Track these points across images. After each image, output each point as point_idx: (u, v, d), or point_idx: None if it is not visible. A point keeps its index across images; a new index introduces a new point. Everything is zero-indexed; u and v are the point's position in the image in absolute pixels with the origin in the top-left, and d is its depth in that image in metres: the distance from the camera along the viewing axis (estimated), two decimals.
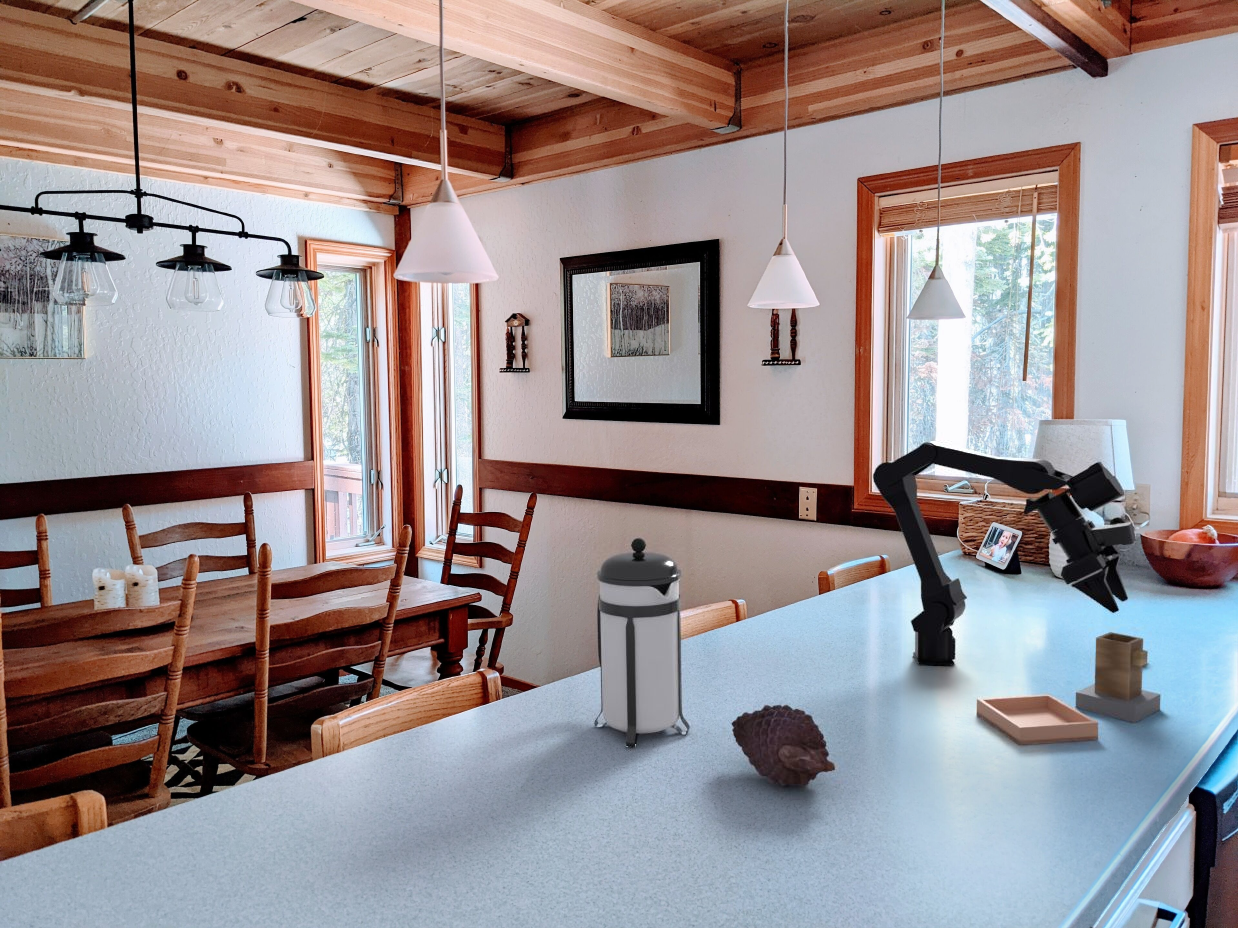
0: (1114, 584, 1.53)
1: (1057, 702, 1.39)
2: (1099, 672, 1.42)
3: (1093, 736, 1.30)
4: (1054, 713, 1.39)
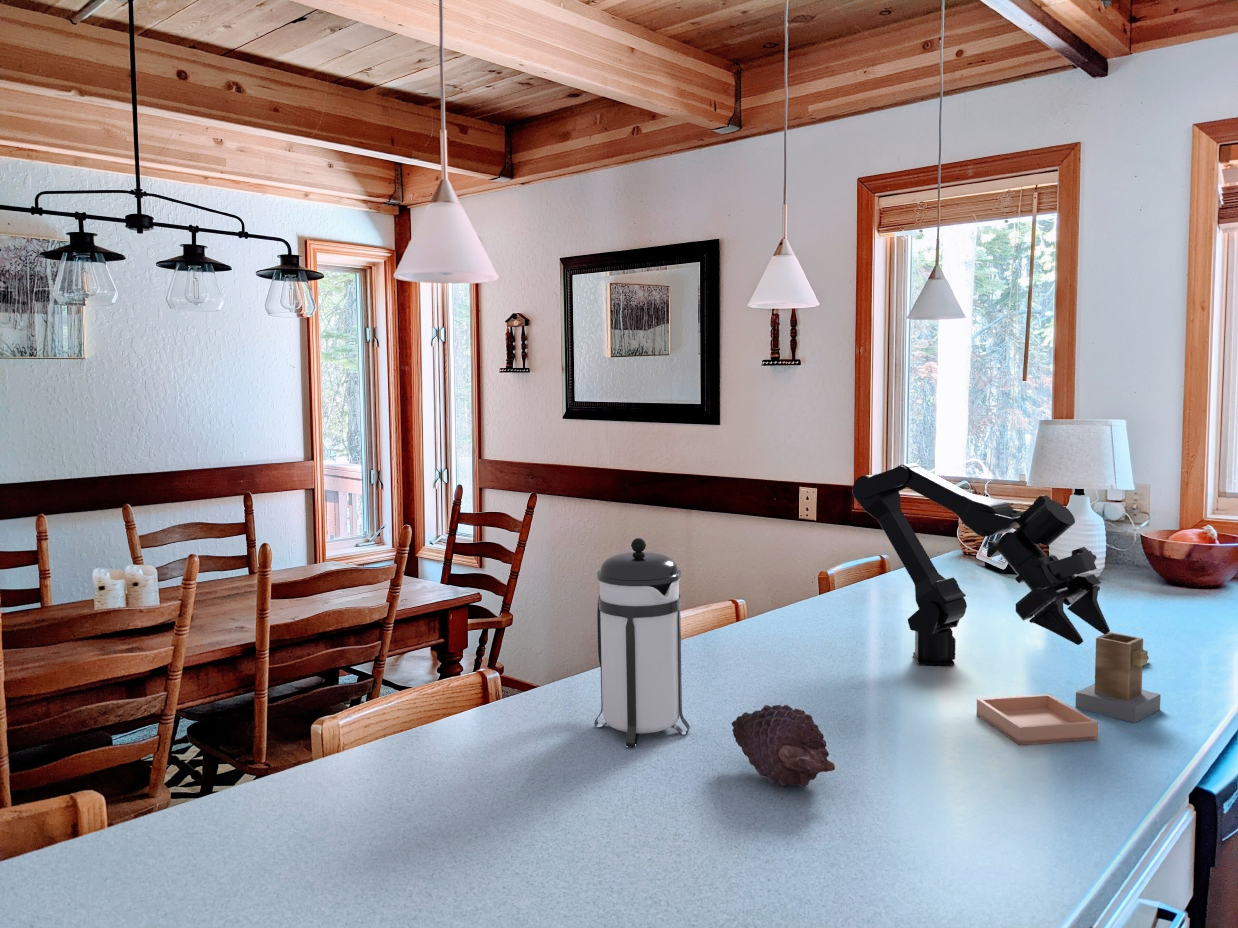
0: (1094, 617, 1.49)
1: (1057, 702, 1.39)
2: (1099, 672, 1.42)
3: (1093, 736, 1.30)
4: (1054, 713, 1.39)
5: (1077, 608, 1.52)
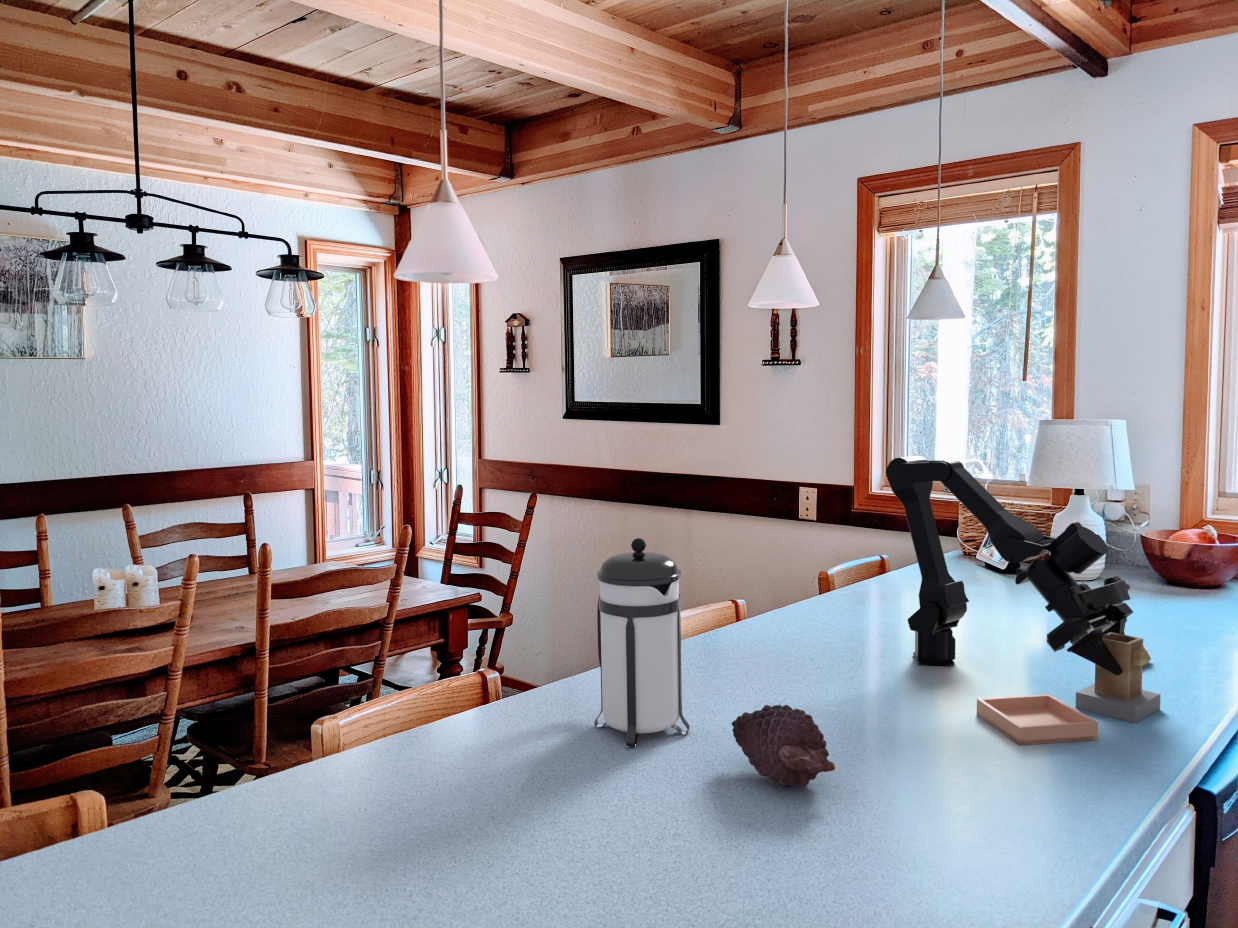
0: None
1: (1057, 702, 1.39)
2: (1099, 672, 1.42)
3: (1093, 736, 1.30)
4: (1054, 713, 1.39)
5: None
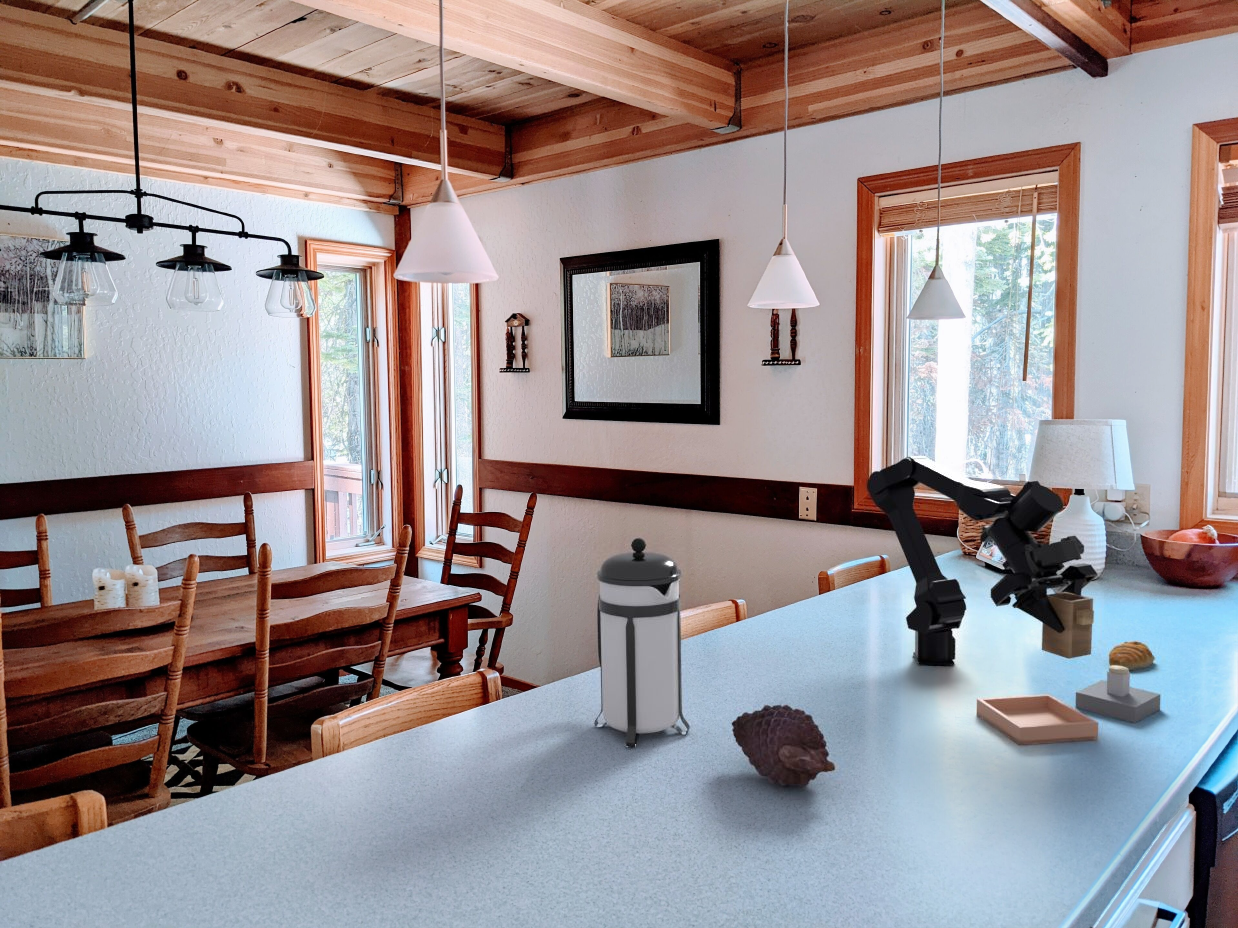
0: None
1: (1057, 702, 1.39)
2: (1045, 630, 1.42)
3: (1093, 736, 1.30)
4: (1054, 713, 1.39)
5: None
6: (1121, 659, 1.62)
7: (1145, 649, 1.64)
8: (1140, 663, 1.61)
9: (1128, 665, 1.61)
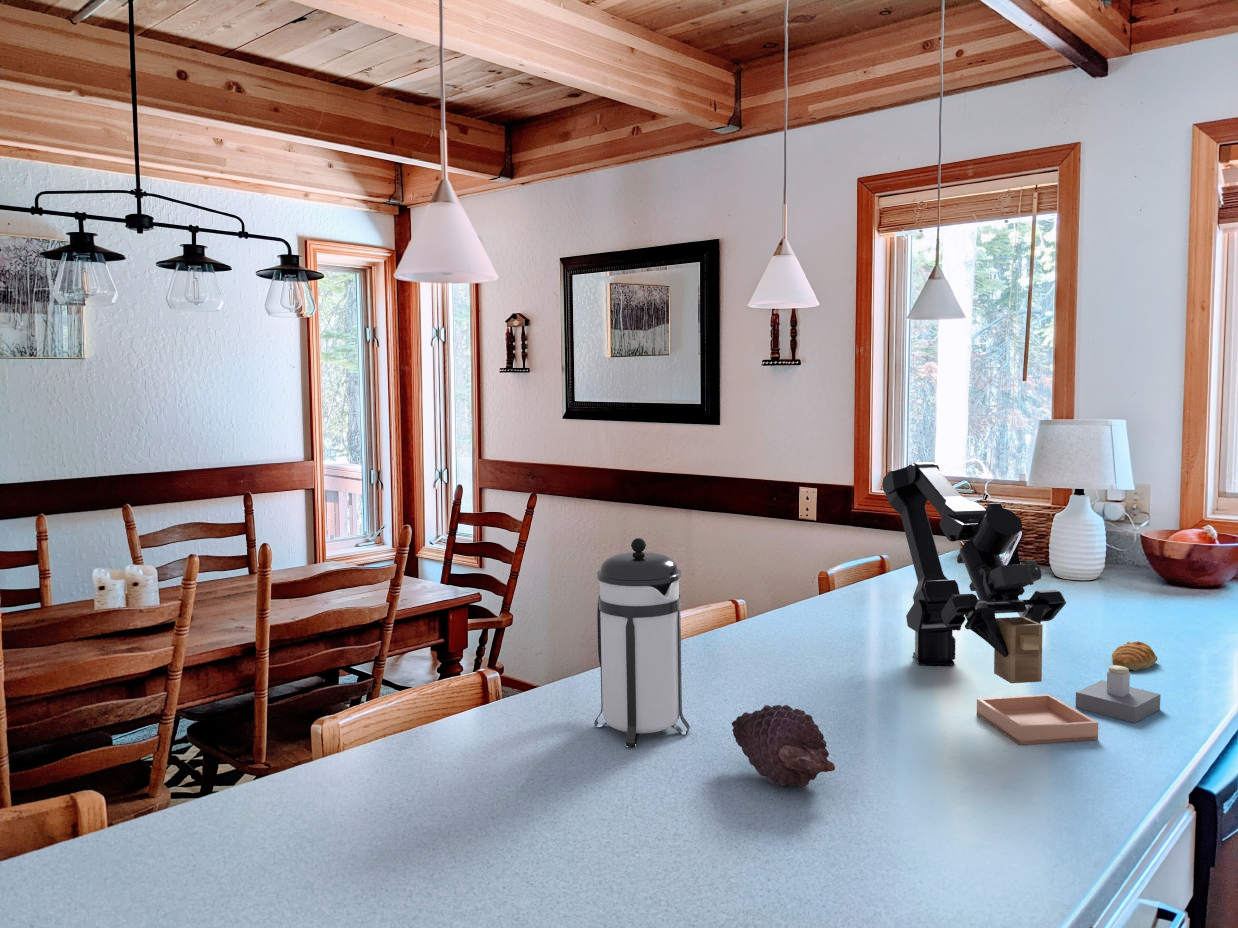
0: None
1: (1057, 702, 1.39)
2: (996, 653, 1.41)
3: (1093, 736, 1.30)
4: (1054, 713, 1.39)
5: None
6: (1125, 660, 1.61)
7: (1148, 649, 1.64)
8: (1144, 664, 1.61)
9: (1132, 666, 1.60)
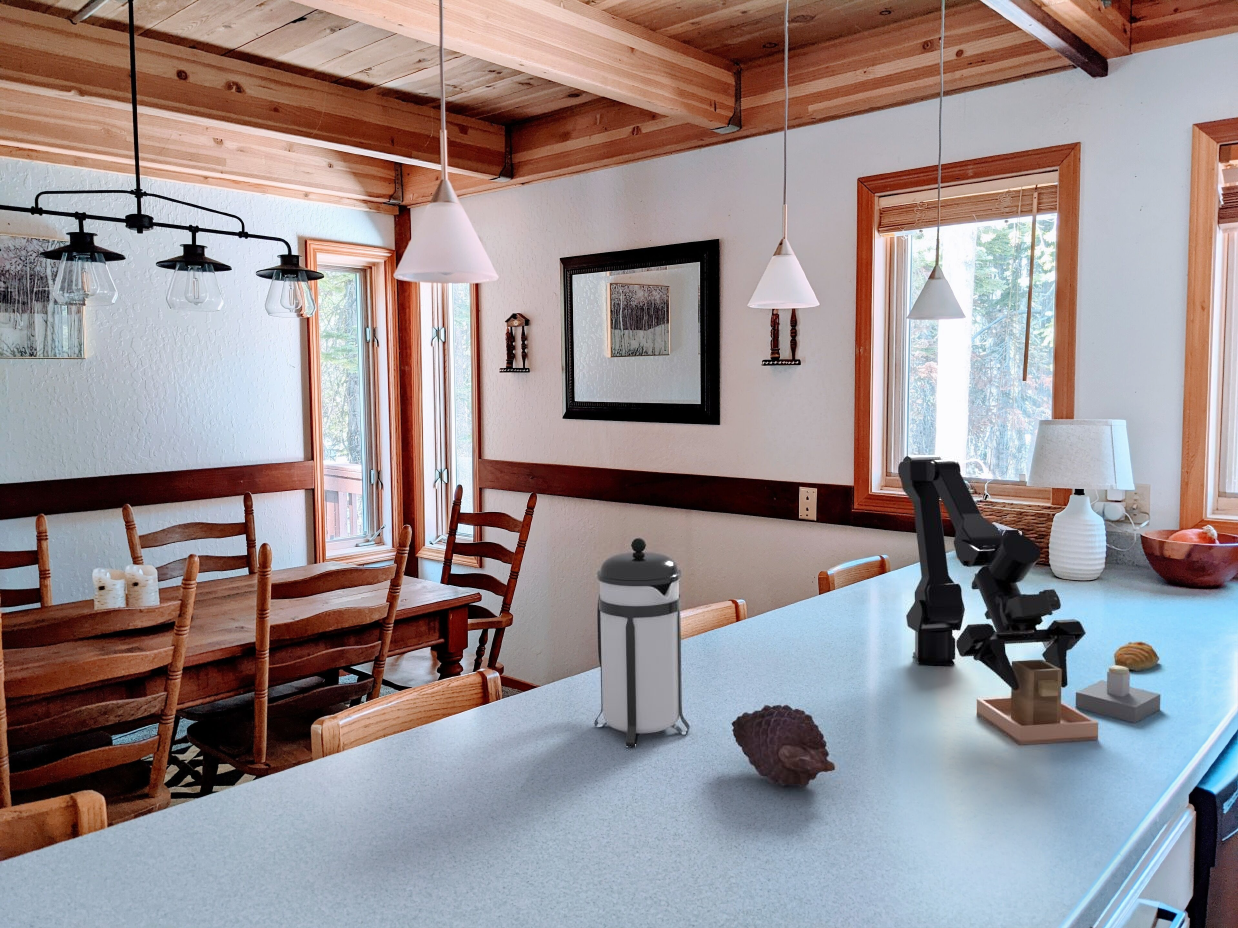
0: None
1: None
2: (1013, 697, 1.37)
3: (1093, 736, 1.30)
4: None
5: (1047, 655, 1.39)
6: (1127, 660, 1.61)
7: (1150, 649, 1.64)
8: (1147, 664, 1.61)
9: (1134, 666, 1.60)
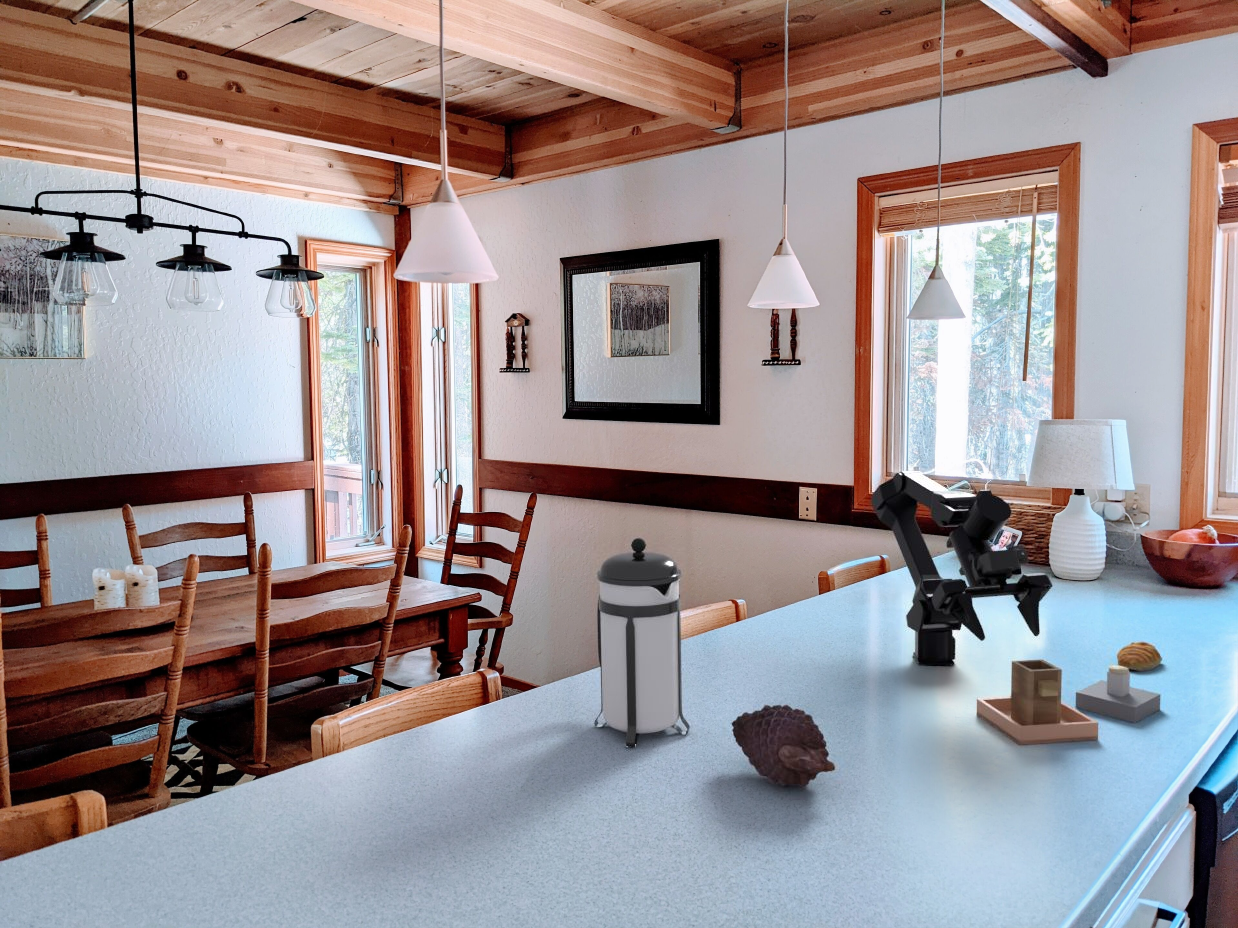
0: (1029, 618, 1.45)
1: None
2: (1013, 697, 1.37)
3: (1093, 736, 1.30)
4: None
5: (1022, 607, 1.48)
6: (1131, 661, 1.61)
7: (1153, 650, 1.63)
8: (1150, 664, 1.61)
9: (1138, 666, 1.60)
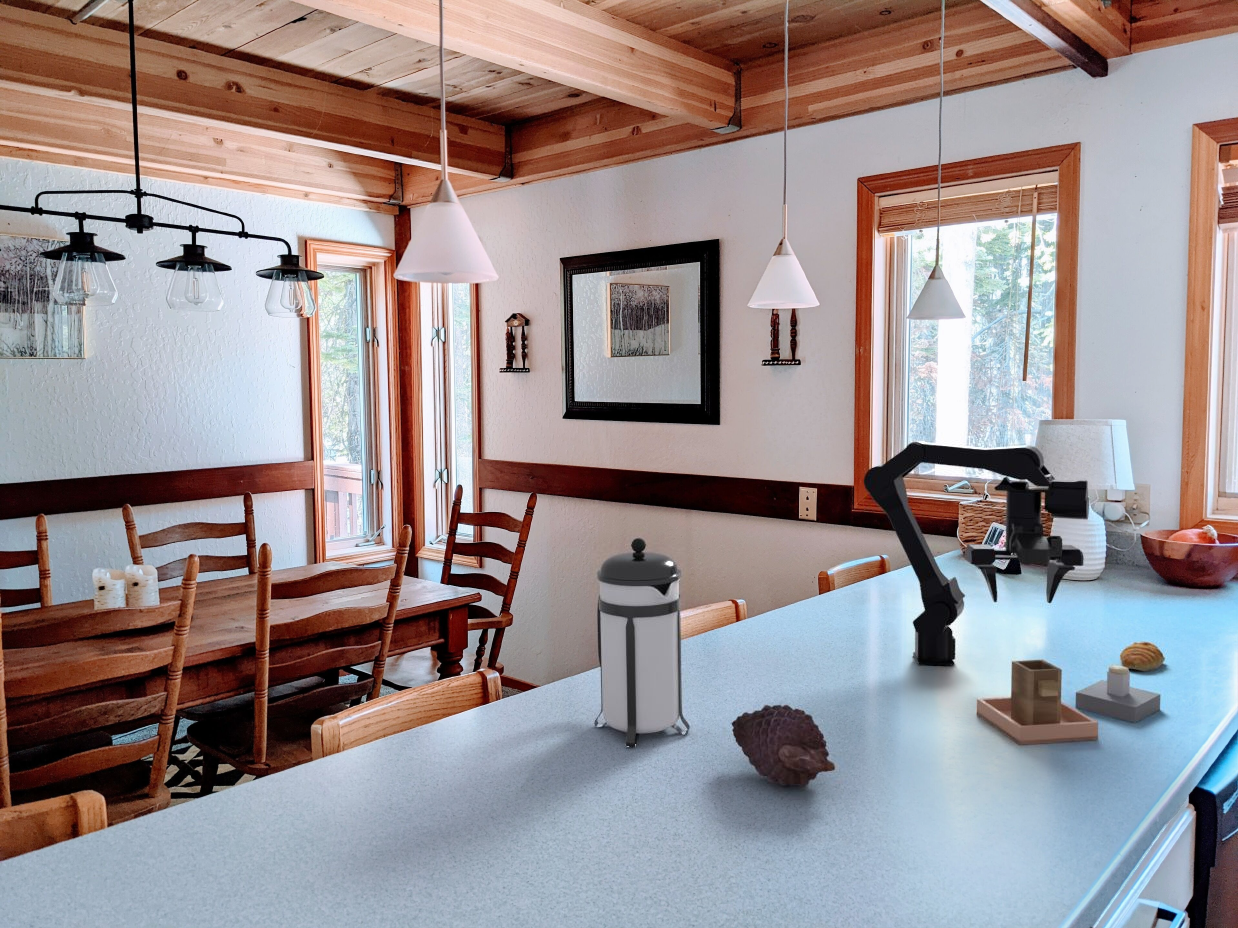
0: (1049, 585, 1.59)
1: None
2: (1013, 697, 1.37)
3: (1093, 736, 1.30)
4: None
5: (1049, 568, 1.60)
6: (1135, 661, 1.60)
7: (1156, 650, 1.63)
8: (1154, 664, 1.60)
9: (1142, 666, 1.60)
